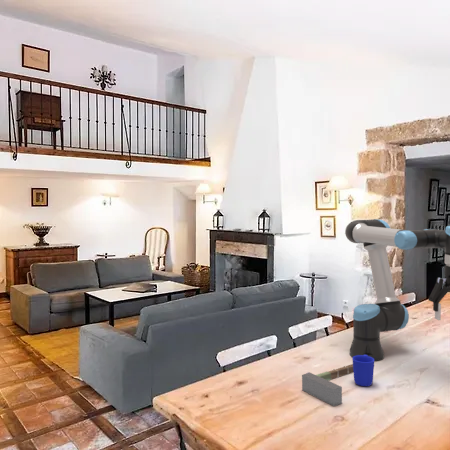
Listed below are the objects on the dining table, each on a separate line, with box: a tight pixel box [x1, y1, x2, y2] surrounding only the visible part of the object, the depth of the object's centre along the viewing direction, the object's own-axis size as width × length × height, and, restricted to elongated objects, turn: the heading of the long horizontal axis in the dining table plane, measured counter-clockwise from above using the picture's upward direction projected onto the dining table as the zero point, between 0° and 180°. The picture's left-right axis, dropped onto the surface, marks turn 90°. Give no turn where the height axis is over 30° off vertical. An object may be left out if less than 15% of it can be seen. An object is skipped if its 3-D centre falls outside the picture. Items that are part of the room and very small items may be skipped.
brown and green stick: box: [316, 363, 354, 381], centre depth 174 cm, size 2×30×3 cm, turn 123°
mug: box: [351, 355, 375, 387], centre depth 169 cm, size 8×12×10 cm
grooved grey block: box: [301, 372, 343, 407], centre depth 157 cm, size 16×5×6 cm, turn 33°
